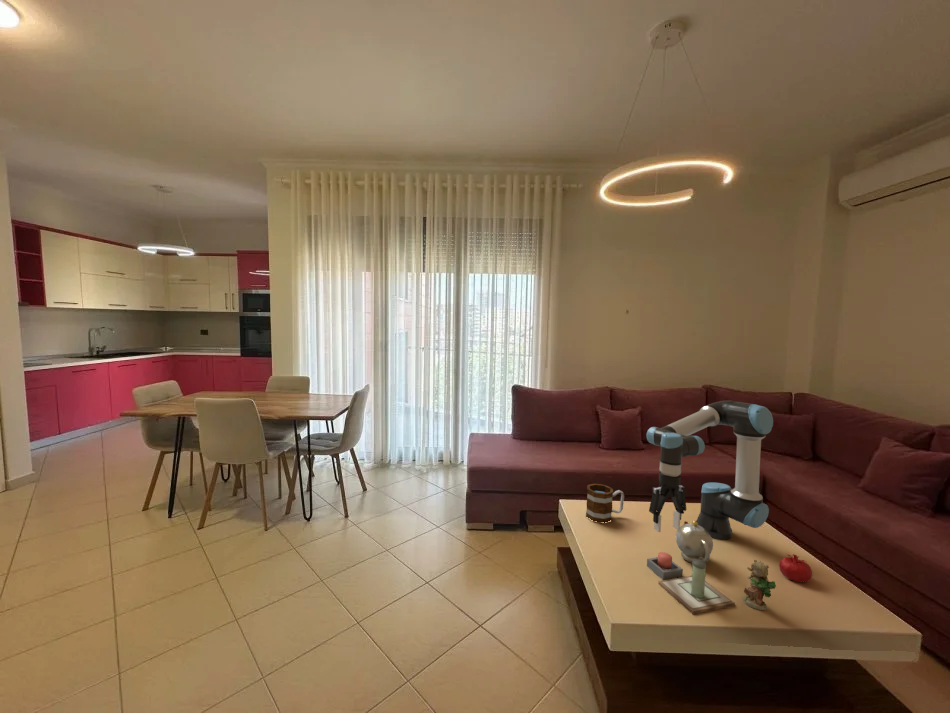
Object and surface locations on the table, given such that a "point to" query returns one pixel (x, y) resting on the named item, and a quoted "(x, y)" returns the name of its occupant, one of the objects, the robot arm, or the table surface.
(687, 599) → the picture board
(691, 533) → the teapot
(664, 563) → the button
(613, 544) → the table surface
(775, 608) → the table surface
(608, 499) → the mug
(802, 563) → the pomegranate
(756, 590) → the figurine
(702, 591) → the cylinder
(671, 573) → the button housing
